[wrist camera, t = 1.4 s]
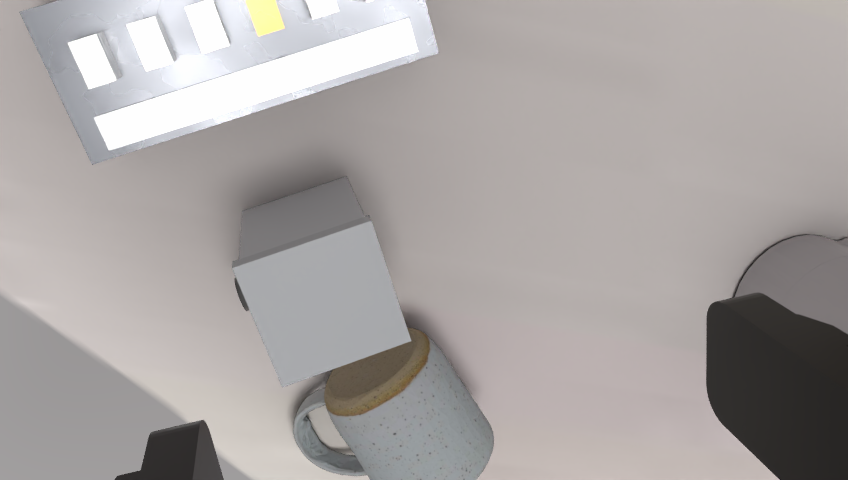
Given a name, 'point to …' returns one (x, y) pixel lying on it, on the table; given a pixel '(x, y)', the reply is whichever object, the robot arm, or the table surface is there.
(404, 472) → the ceramic mug
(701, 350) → the table surface
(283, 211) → the junction box
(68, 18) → the breaker strip
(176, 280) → the table surface
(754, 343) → the robot arm
